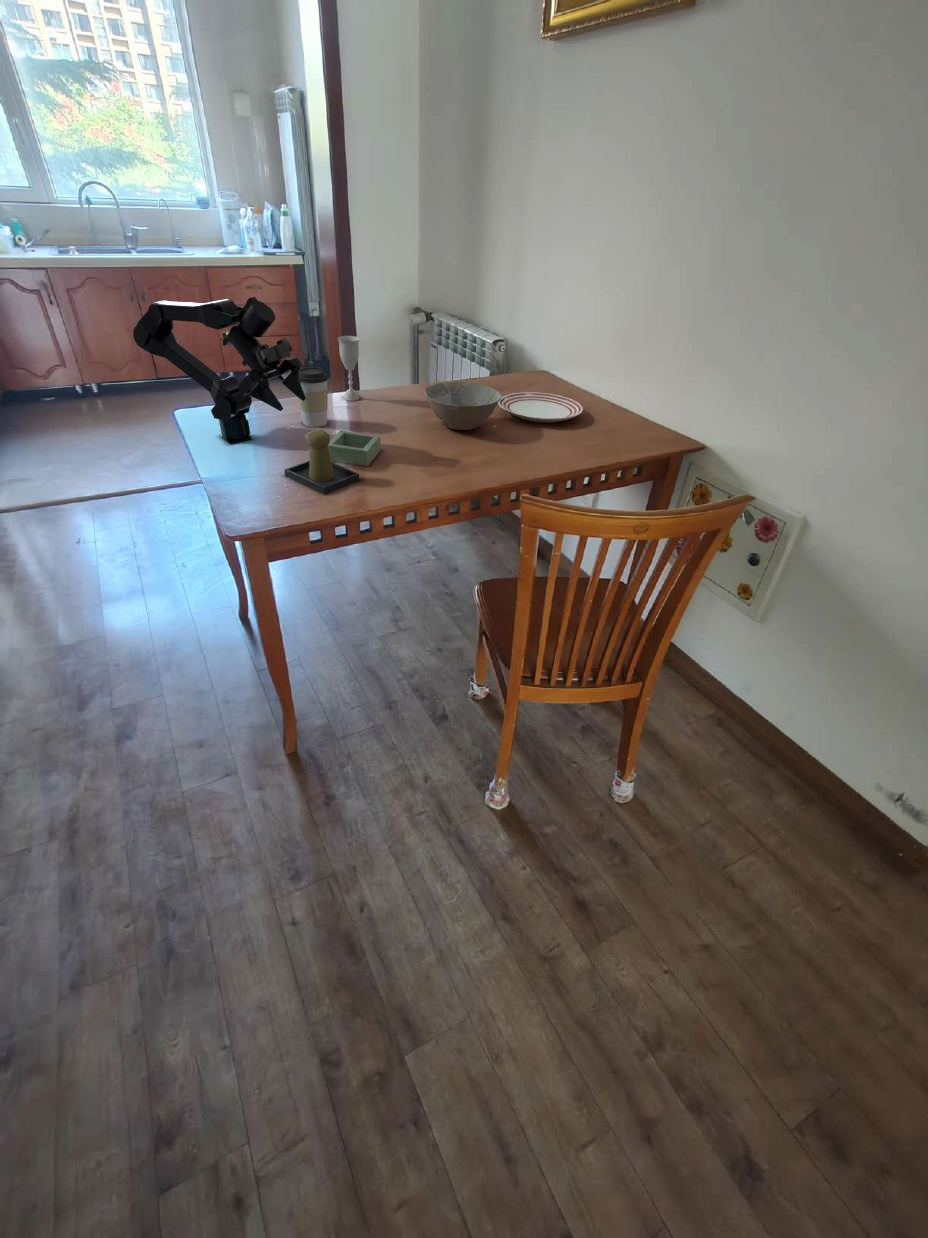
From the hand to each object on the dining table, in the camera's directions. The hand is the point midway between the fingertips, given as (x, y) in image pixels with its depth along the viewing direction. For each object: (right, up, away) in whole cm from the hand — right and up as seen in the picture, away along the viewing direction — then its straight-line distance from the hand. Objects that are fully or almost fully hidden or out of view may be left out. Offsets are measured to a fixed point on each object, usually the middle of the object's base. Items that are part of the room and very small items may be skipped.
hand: (293, 404), depth 147 cm
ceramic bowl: (+42, +5, +32) cm, 53 cm away
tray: (+8, -19, -3) cm, 21 cm away
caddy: (+13, -10, +10) cm, 19 cm away
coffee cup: (-1, +4, +26) cm, 27 cm away
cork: (+8, -19, -3) cm, 20 cm away
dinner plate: (+67, +14, +46) cm, 82 cm away
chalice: (+6, +19, +46) cm, 50 cm away
